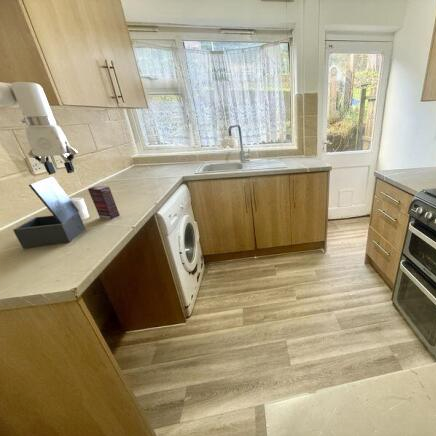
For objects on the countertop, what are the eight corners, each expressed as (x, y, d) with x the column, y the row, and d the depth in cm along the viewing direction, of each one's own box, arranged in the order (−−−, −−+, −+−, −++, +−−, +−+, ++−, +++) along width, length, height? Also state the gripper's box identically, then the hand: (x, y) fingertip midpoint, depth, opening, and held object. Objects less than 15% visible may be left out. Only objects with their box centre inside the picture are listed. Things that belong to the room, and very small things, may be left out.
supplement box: (121, 216, 123) (109, 186, 116) (112, 220, 118) (99, 189, 112) (109, 215, 125) (97, 185, 119) (99, 219, 121) (86, 188, 115)
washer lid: (28, 185, 87) (30, 184, 87) (50, 176, 98) (52, 176, 98) (60, 223, 94) (62, 223, 94) (77, 212, 105) (79, 211, 105)
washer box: (23, 250, 94) (12, 229, 91) (44, 235, 106) (35, 217, 102) (70, 244, 98) (61, 224, 94) (86, 230, 109) (78, 212, 105)
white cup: (67, 220, 120) (58, 202, 116) (84, 214, 127) (76, 196, 122) (77, 222, 117) (68, 203, 113) (94, 216, 124) (86, 197, 120)
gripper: (2, 123, 81) (28, 177, 88) (63, 121, 84) (82, 173, 92) (19, 122, 87) (41, 172, 95) (75, 121, 91) (92, 169, 98)
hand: (61, 172), depth 93 cm, fingers open, 5 cm apart
